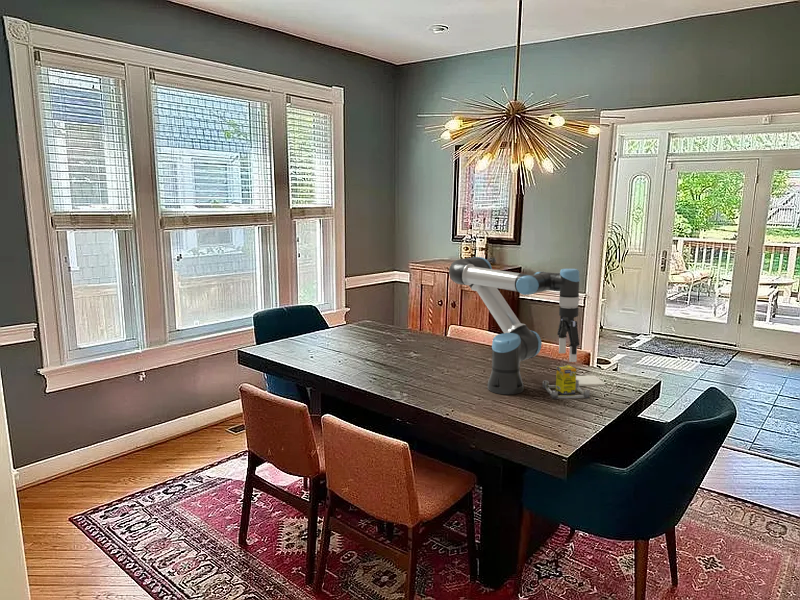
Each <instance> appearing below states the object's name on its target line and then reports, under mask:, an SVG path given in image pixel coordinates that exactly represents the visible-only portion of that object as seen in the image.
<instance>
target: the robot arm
mask: <svg viewBox="0 0 800 600" xmlns="http://www.w3.org/2000/svg"><path fill="white" fill-rule="evenodd" d="M448 275H449V278H450V279H451V281H452V282H454V283H455V284H458V285H465V286H468V287H469V288H470V289H471V291H472V292H473V291H474V292H476V293H477V294H478V296H479V297H480V298H481V300H482V302H483V304H484V305H485V306H486V308H487V309H488V310H489V313H490V314H491V315H492V317H493V319H494V320H495V322H496V323H497V324H498V326H499V328H500V329H501V331H502V332H503V333H499V334H497V335H495V336H494V337H493V338H492V344H491V349H492V350H491V373H490V376H489V379H488V381H487V390H488V391H490V392H492V393H495V394H499V395H516V394H520V393H522V392H523V391H524V382H523V379H522V375H521V371H520V367H521V366H520V365H521V364H520V363H521V362H523V361H526V360H529V359H533V357H536V356H537V355H538V354H539V353H540V351H541V349H542V345H543V343H542V339H541V337H540V335H539V333H537V331H534V330H530V328H529V327H528V326H527V324H525V323H521V321H520V320H519V318H518V317H517V315H516V314H515V313H514V311H513V310H512V308H511V307H510V305H509V304H508V302H507V301H506V298H504V296H503V295H502V293H501V292H500V290H499V289H501V290H507V291H512V292H518V293H519V294H521V295H523V296H525V295H526V296H530V295H531V296H532V295H533V294H537V293H542V292H546V291H551V292H559V299H558V300H559V301H558V303H559V308H558V316H559V324H558V329H557V336H558V338H559V339H558V354H566V353H567V352H566V349H567V348H566V347H567V333H568V339H569V345H568V346H569V355H568V356H569V357H568V358H569V359H568V360H569V361H568V362H569V363H576V362H577V361H578V360H577V356H578V353H577V352H578V347H579V346H580V339H579V332H578V321H577V320H576V321H575V318H577V317H578V316H579V311H580V310H579V302H580V300H581V299H580V296H579V295H580V282H581V278H580V271H579V269H577V268H561V269H560V270H559V272H550V271H549V272H548V271H537V272H535V273H533V274H526V273H521V272H520V273H519V272H512V271H506V270H499V269H493V268H492V265H491V263H490V262H489V260H487V259H486V258H484V257H479V256H472V257H468V258H459V259H456V260H454V261H453V262H452V263H451V264H450V266H449V269H448Z"/></svg>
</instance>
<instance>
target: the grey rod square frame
mask: <svg viewBox="0 0 800 600" xmlns="http://www.w3.org/2000/svg"><path fill="white" fill-rule="evenodd" d="M549 383H550V381H549V380H545V379H544V380H542V389H545V390H546V391H547V393H548V394H549V395H550V396H551V399H553V400H558V399H590V397H591V395H590V394H591V391H590V389H582V388H581V386H579V380H576V387H575V390H577V392H578V393H580V394H569V395H562V394H560V395H559V393H558V391H557V390H556V384H549ZM551 389H553V390H551Z"/></svg>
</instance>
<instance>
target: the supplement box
mask: <svg viewBox="0 0 800 600" xmlns="http://www.w3.org/2000/svg"><path fill="white" fill-rule="evenodd" d="M576 376H577V368H575V367H573V366H571V365H569V364H568V365H559V366H558V365H557V366H556V374H555V378H556V379H555V385H556V388H555V390H557V391H558V394H560V395H576V388H575V387H576Z"/></svg>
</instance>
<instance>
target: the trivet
mask: <svg viewBox="0 0 800 600" xmlns="http://www.w3.org/2000/svg"><path fill="white" fill-rule="evenodd" d="M576 380H579V387H593V386H594V387H599V386H600V387H603V386H605V387H606V383H605V382H604V381H603V380H601V378H599V377H598V376H596V375H576Z"/></svg>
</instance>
